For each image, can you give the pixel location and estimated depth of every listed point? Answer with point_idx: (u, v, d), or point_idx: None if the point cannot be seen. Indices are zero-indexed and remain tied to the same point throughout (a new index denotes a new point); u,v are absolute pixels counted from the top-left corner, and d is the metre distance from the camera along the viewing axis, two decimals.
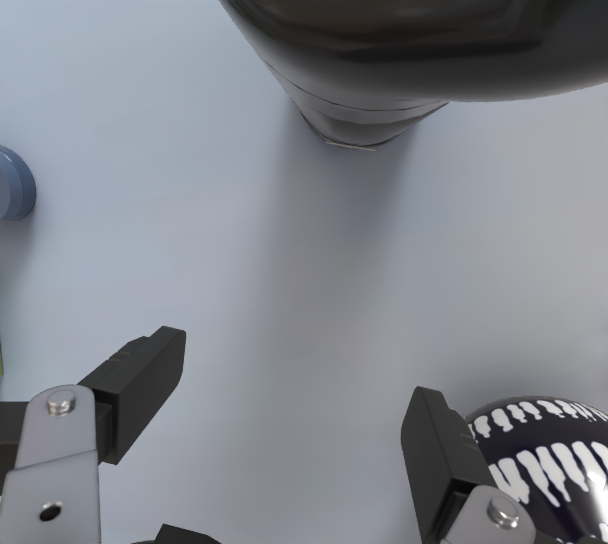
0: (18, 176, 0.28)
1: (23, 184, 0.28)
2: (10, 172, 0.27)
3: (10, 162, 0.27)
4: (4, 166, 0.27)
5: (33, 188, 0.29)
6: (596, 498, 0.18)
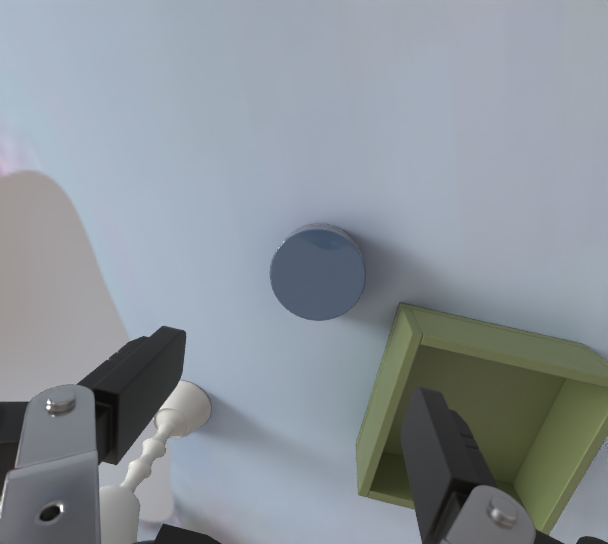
0: (309, 227, 0.23)
1: (319, 225, 0.23)
2: (303, 229, 0.23)
3: (293, 233, 0.23)
4: (296, 232, 0.22)
5: (324, 224, 0.24)
6: None
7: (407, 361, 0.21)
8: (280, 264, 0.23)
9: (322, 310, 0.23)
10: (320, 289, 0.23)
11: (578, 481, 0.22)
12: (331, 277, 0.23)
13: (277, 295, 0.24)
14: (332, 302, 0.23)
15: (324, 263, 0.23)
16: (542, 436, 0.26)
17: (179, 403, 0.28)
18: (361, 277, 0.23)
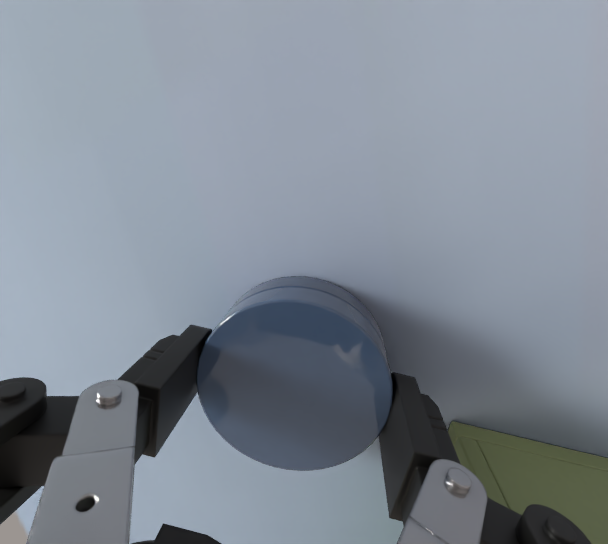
0: (275, 289, 0.11)
1: (296, 285, 0.11)
2: (262, 297, 0.11)
3: (244, 300, 0.11)
4: (247, 303, 0.11)
5: (309, 278, 0.12)
6: None
7: None
8: (216, 366, 0.11)
9: (304, 453, 0.12)
10: (299, 416, 0.11)
11: None
12: (321, 395, 0.11)
13: (213, 423, 0.12)
14: (324, 440, 0.11)
15: (306, 368, 0.11)
16: None
17: None
18: (384, 397, 0.11)
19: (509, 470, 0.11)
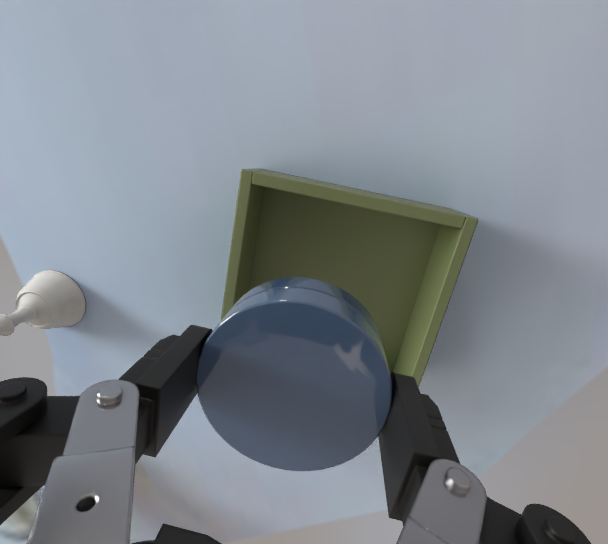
0: (275, 290, 0.11)
1: (296, 286, 0.11)
2: (262, 297, 0.11)
3: (244, 300, 0.11)
4: (247, 304, 0.11)
5: (308, 279, 0.12)
6: None
7: (241, 205, 0.20)
8: (215, 367, 0.11)
9: (303, 454, 0.12)
10: (298, 416, 0.11)
11: (432, 341, 0.21)
12: (320, 395, 0.11)
13: (213, 423, 0.12)
14: (323, 440, 0.11)
15: (306, 368, 0.11)
16: (413, 312, 0.24)
17: (42, 288, 0.26)
18: (383, 398, 0.11)
19: (274, 172, 0.22)
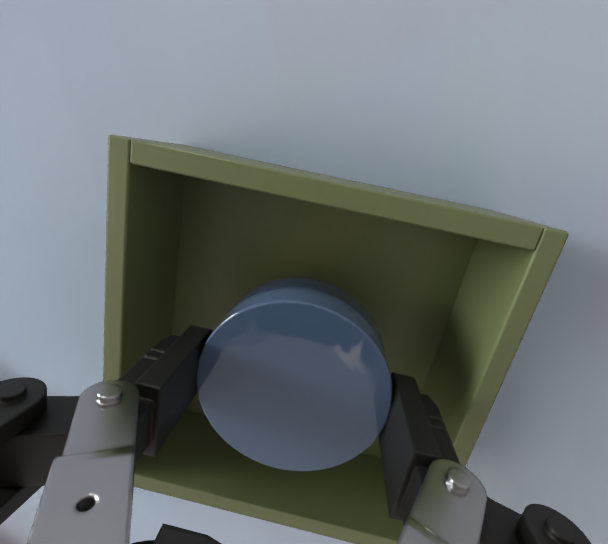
0: (275, 290, 0.11)
1: (296, 286, 0.11)
2: (262, 298, 0.11)
3: (244, 301, 0.11)
4: (247, 304, 0.11)
5: (309, 279, 0.12)
6: None
7: (115, 204, 0.11)
8: (216, 367, 0.11)
9: (303, 454, 0.12)
10: (298, 417, 0.11)
11: (469, 448, 0.12)
12: (321, 396, 0.11)
13: (213, 424, 0.12)
14: (323, 441, 0.11)
15: (306, 369, 0.11)
16: (431, 378, 0.15)
17: None
18: (383, 398, 0.11)
19: (192, 148, 0.13)
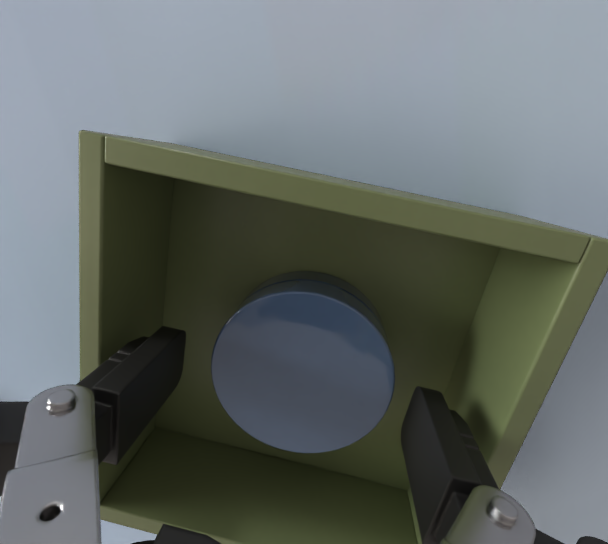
0: (285, 282, 0.12)
1: (304, 279, 0.12)
2: (273, 289, 0.12)
3: (255, 293, 0.12)
4: (259, 295, 0.11)
5: (316, 273, 0.13)
6: None
7: (88, 210, 0.09)
8: (229, 355, 0.12)
9: (311, 437, 0.12)
10: (307, 401, 0.12)
11: None
12: (328, 381, 0.12)
13: (227, 408, 0.12)
14: (331, 424, 0.12)
15: (314, 355, 0.11)
16: (447, 401, 0.14)
17: None
18: (387, 383, 0.11)
19: (180, 146, 0.11)
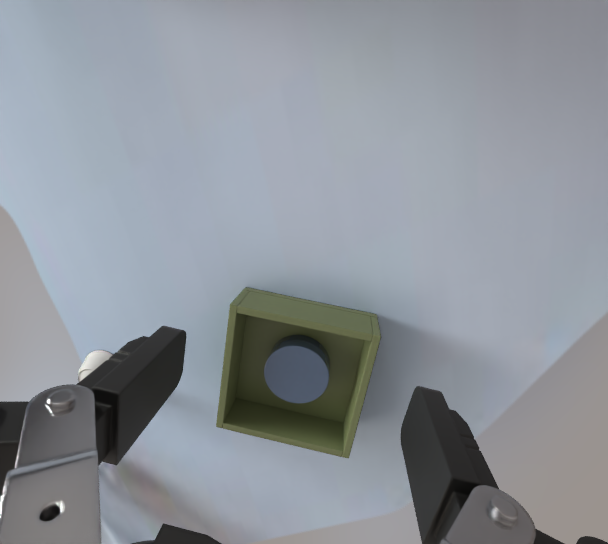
0: (290, 341, 0.33)
1: (297, 339, 0.34)
2: (286, 344, 0.33)
3: (279, 344, 0.34)
4: (281, 346, 0.33)
5: (301, 335, 0.34)
6: None
7: (230, 325, 0.31)
8: (270, 367, 0.33)
9: (301, 397, 0.34)
10: (298, 383, 0.33)
11: (359, 410, 0.32)
12: (306, 376, 0.33)
13: (269, 387, 0.34)
14: (307, 391, 0.34)
15: (300, 367, 0.33)
16: (354, 383, 0.35)
17: (96, 365, 0.38)
18: (326, 376, 0.33)
19: (253, 296, 0.33)
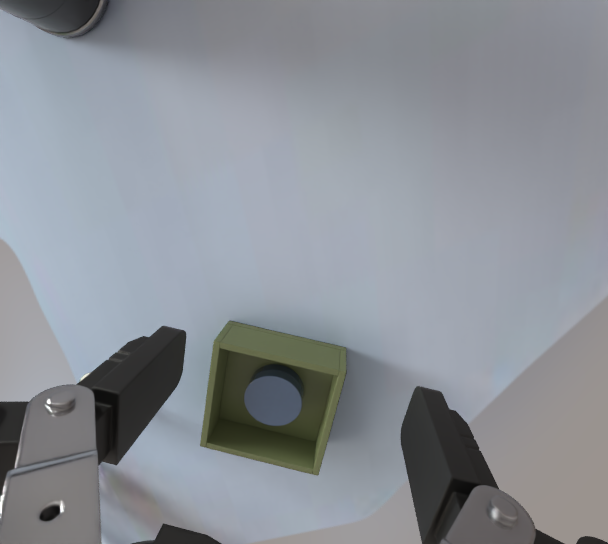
0: (268, 370, 0.37)
1: (274, 369, 0.37)
2: (264, 373, 0.37)
3: (258, 373, 0.38)
4: (259, 376, 0.37)
5: (278, 365, 0.38)
6: None
7: (214, 358, 0.35)
8: (250, 394, 0.37)
9: (276, 420, 0.38)
10: (275, 408, 0.37)
11: (328, 434, 0.36)
12: (281, 402, 0.37)
13: (249, 411, 0.38)
14: (282, 416, 0.38)
15: (276, 394, 0.37)
16: (325, 408, 0.39)
17: None
18: (299, 403, 0.37)
19: (235, 330, 0.37)
